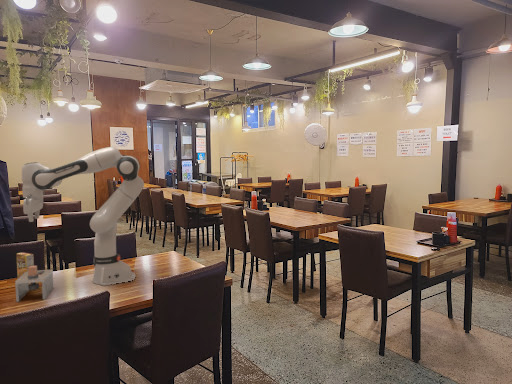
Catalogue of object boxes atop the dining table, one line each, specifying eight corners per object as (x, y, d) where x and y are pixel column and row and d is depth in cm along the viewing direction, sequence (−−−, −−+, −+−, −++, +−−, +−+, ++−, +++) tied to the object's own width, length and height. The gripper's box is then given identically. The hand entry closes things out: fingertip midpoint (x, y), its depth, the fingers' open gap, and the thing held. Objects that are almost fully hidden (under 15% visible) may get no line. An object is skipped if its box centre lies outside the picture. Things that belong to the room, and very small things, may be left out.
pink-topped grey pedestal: (40, 286, 175) (39, 264, 174) (37, 289, 171) (36, 267, 170) (30, 287, 174) (28, 265, 173) (27, 290, 170) (25, 268, 168)
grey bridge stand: (53, 288, 184) (52, 269, 183) (45, 299, 169) (44, 279, 168) (27, 290, 180) (26, 271, 179) (16, 302, 166) (15, 281, 165)
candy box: (17, 281, 194) (15, 253, 192) (25, 278, 197) (23, 251, 196) (27, 283, 190) (25, 255, 188) (35, 280, 194) (33, 253, 192)
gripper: (33, 195, 174) (35, 223, 175) (45, 191, 193) (46, 216, 195) (18, 196, 172) (20, 224, 173) (31, 191, 191) (33, 217, 193)
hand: (34, 220), depth 184 cm, fingers open, 8 cm apart
